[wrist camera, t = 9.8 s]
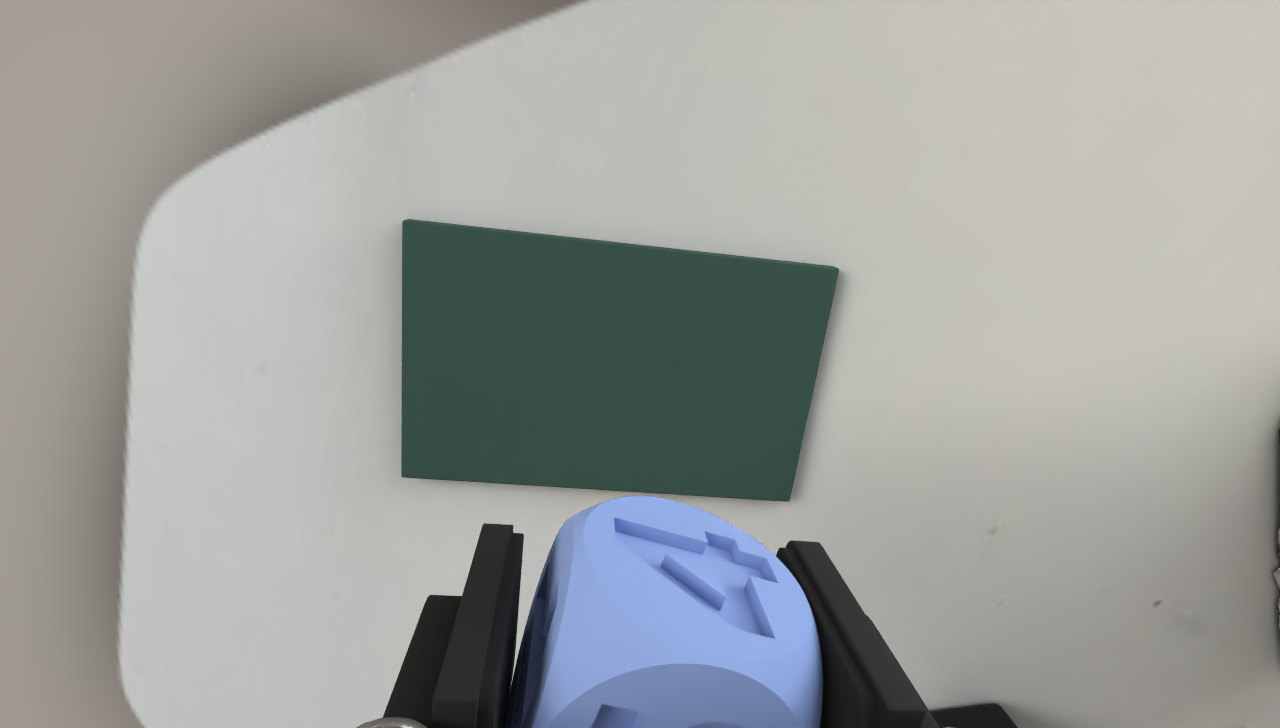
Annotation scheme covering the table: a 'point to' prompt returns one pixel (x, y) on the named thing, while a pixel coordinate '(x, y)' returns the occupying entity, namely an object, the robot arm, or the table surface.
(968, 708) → the battery
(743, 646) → the decorative dice
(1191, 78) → the table surface
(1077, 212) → the table surface
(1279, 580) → the geode
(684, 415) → the mat
